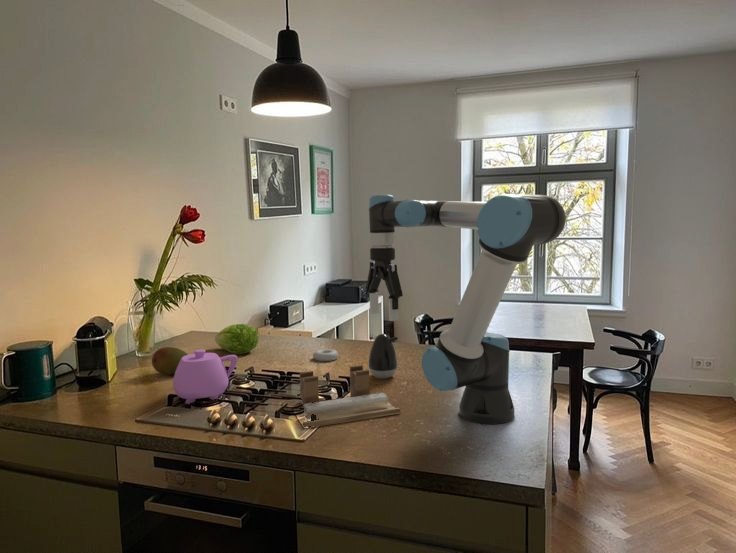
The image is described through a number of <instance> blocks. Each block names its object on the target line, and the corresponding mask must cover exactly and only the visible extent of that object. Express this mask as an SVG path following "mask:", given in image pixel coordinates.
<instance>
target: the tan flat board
mask: <svg viewBox="0 0 736 553" xmlns="http://www.w3.org/2000/svg"><path fill="white" fill-rule="evenodd" d="M301 408H304V406H303V407H302V406H301ZM399 414H401V408H400V407H395V406H394V405H392V403H390V402H389V401H388V408H385V409H378V410H372V411H365V412H359V413H352V414H345V415H339V416H332V417H326V418H319V420H314V421H307V422H303V426H304V427H306V426H316V427H323V426H328V425H329V426H330V425H334V424H341V423H348V422H353V421H354V422H355V421H361V420H366V419H373V418H379V417H384V416H385V417H387V416H392V415H399Z"/></svg>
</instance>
